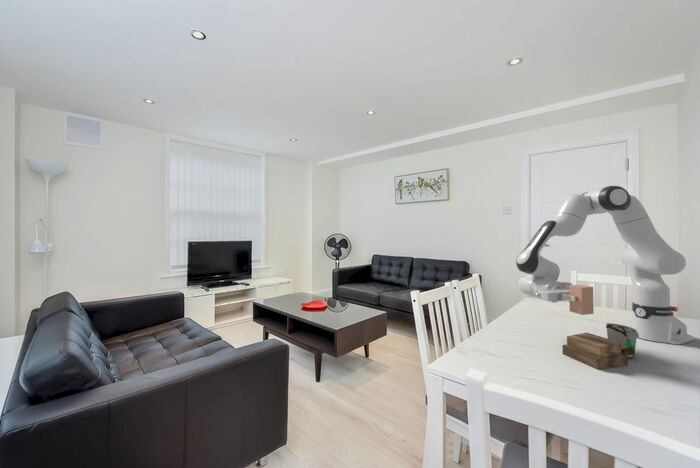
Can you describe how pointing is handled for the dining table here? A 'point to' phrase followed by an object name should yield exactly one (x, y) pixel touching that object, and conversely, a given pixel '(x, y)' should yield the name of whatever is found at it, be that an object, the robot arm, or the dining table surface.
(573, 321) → the dining table surface
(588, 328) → the dining table surface
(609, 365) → the tower base
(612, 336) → the food container
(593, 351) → the tower top
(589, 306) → the pillar
